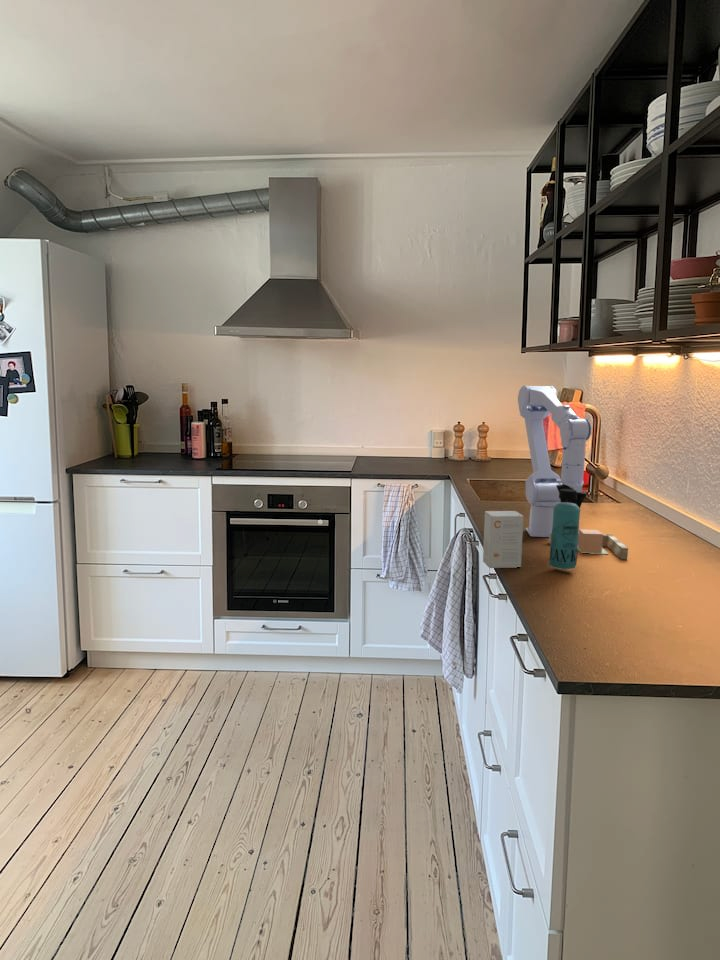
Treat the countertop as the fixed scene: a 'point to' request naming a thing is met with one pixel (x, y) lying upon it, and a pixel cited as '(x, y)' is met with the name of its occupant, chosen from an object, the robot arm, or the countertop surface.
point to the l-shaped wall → (611, 545)
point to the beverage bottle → (565, 532)
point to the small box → (503, 539)
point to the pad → (594, 552)
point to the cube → (590, 540)
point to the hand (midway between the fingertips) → (569, 514)
